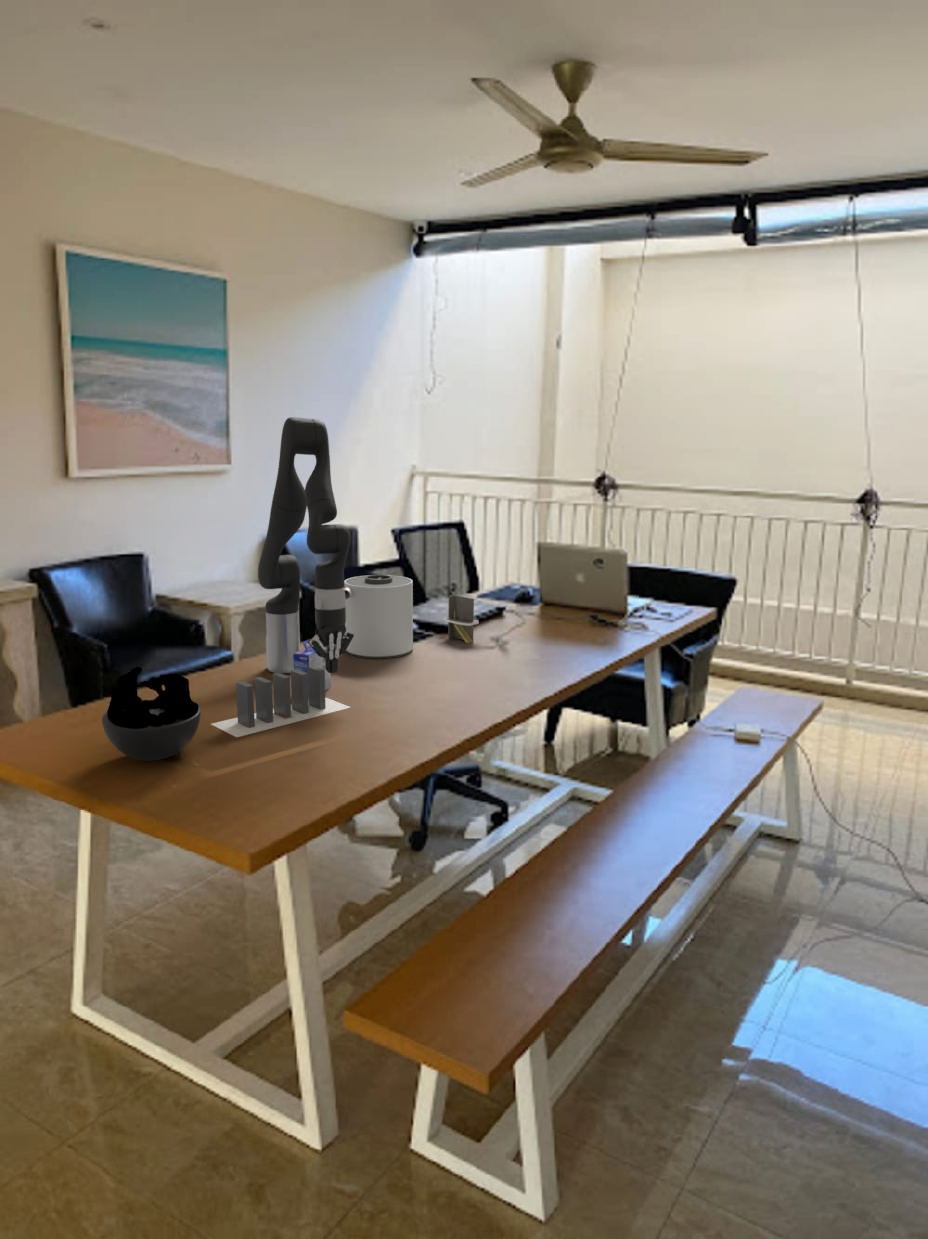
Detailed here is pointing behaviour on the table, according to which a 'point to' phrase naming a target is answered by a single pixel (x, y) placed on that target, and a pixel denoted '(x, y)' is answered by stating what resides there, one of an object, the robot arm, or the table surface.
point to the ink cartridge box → (310, 662)
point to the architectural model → (461, 618)
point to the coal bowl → (151, 717)
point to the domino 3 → (282, 695)
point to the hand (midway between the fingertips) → (331, 672)
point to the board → (277, 719)
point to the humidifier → (379, 615)
